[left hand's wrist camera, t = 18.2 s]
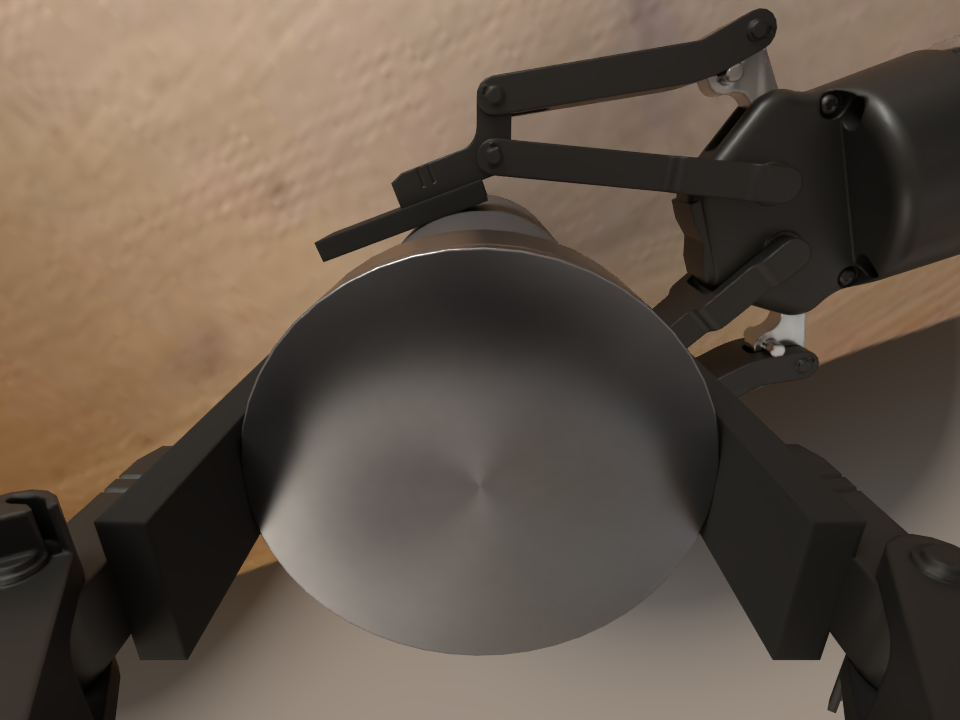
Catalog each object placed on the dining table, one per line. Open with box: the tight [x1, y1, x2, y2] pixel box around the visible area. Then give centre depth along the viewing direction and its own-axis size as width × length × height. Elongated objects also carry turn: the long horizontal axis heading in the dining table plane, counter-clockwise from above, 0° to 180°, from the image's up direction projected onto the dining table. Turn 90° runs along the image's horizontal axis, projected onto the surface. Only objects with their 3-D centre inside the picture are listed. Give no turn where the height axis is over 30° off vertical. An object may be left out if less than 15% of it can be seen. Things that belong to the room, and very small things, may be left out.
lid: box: [241, 229, 719, 656], centre depth 11 cm, size 9×9×2 cm
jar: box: [401, 195, 559, 244], centre depth 19 cm, size 8×8×18 cm
